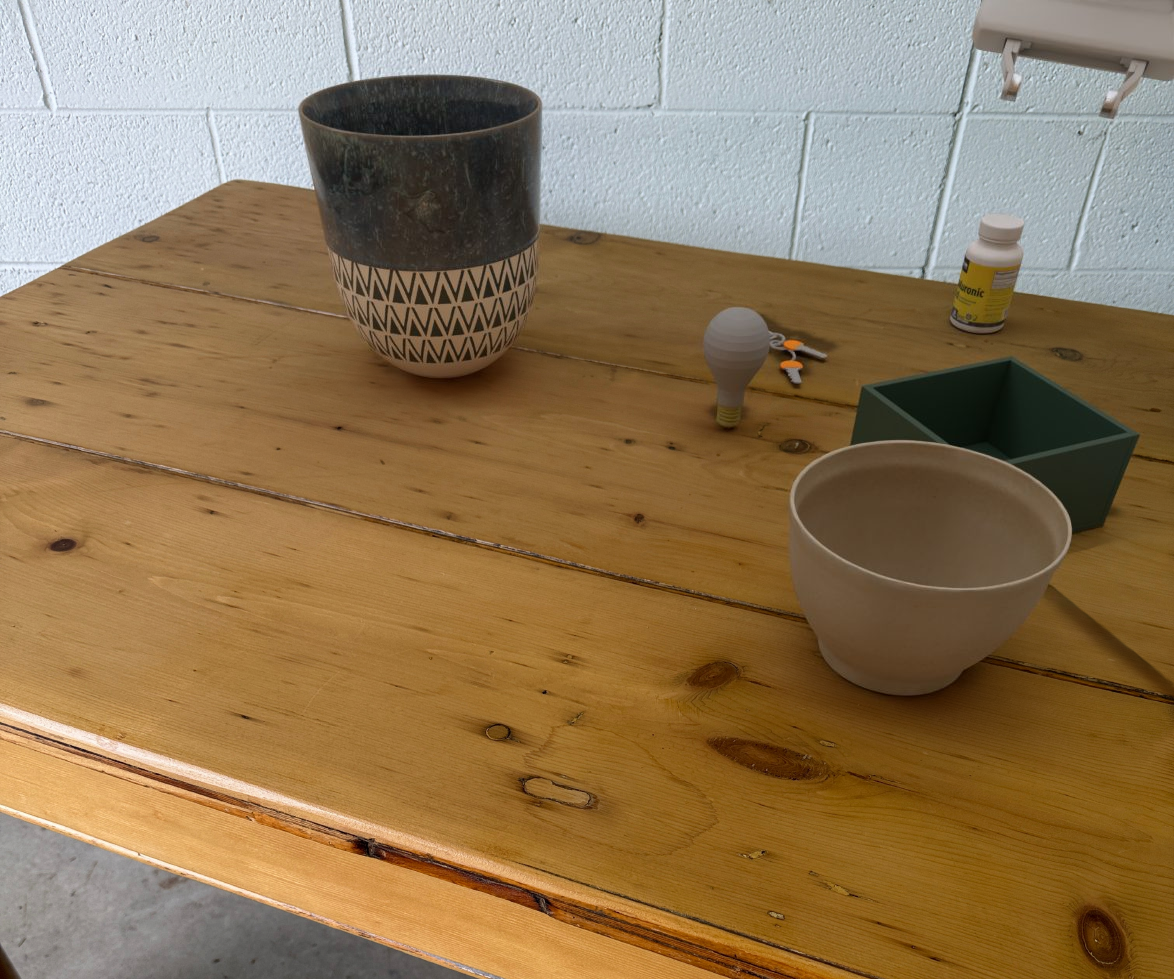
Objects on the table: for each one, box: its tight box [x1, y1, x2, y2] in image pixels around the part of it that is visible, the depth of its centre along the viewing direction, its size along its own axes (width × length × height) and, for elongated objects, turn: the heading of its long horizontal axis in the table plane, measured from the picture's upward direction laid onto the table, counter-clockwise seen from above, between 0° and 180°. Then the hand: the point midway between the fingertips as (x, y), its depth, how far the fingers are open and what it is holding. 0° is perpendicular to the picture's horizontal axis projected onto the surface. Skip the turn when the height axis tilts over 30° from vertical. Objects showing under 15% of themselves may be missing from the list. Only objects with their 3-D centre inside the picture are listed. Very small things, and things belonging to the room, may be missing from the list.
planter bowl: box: [788, 440, 1073, 696], centre depth 65 cm, size 16×16×11 cm
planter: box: [297, 73, 543, 379], centre depth 92 cm, size 20×20×21 cm
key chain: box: [769, 330, 828, 385], centre depth 101 cm, size 13×7×1 cm, turn 36°
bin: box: [849, 355, 1141, 535], centre depth 80 cm, size 14×14×8 cm
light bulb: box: [702, 306, 771, 429], centre depth 88 cm, size 6×6×10 cm
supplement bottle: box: [949, 213, 1025, 334], centre depth 104 cm, size 5×5×10 cm
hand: (1057, 106), depth 102 cm, fingers open, 8 cm apart
